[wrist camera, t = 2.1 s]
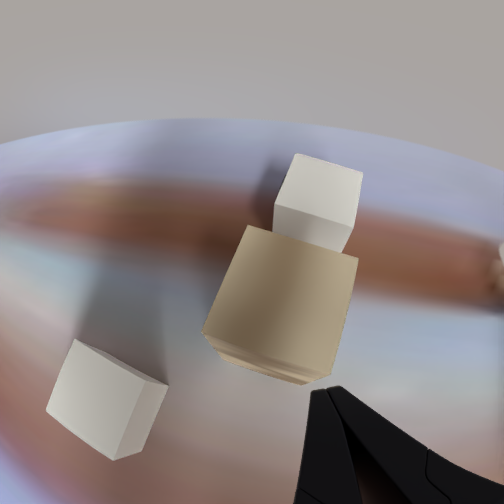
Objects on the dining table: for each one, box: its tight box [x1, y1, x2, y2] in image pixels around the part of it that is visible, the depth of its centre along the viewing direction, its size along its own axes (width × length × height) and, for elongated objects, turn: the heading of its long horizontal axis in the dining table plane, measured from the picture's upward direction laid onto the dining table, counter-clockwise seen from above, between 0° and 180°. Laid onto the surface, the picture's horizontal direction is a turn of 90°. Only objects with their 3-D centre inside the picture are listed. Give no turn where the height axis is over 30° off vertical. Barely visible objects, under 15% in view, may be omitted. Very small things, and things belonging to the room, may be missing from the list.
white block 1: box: [46, 339, 169, 461], centre depth 16 cm, size 6×6×5 cm
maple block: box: [201, 225, 359, 385], centre depth 17 cm, size 6×6×9 cm
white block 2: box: [272, 153, 363, 253], centre depth 24 cm, size 6×6×5 cm
